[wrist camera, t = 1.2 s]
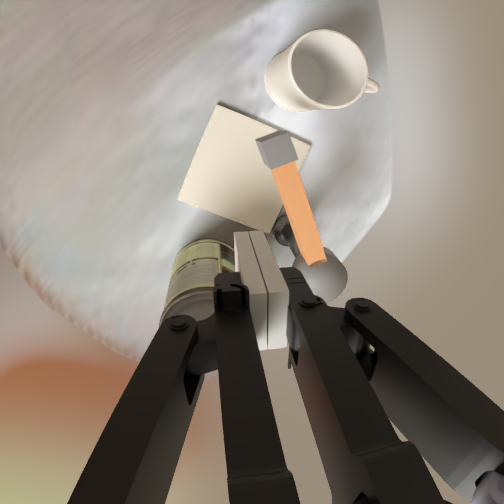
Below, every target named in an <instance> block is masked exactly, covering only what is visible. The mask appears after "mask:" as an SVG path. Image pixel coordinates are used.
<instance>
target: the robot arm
mask: <svg viewBox="0 0 504 504" xmlns="http://www.w3.org/2000/svg"><path fill="white" fill-rule="evenodd" d="M234 250H235V272H227V273H218V274H217V275H216V277H215V278H214V291H213V298H214V309H215V311H214V313H213V314H212V315H211V316H210V317H208V318H206V319H204V320H201V321H197V322H196V320H195V318H193V317H191V316H189V315H174V316H171V317H169V318H167V319H165V320H164V321H163V323H162V324H161V326H160V327H159V329H158V331H157V333H156V334H155V336H154V338H153V340H152V341H151V343H150V345H149V347H148V349H147V350H146V352H145V354H144V356H143V358H142V359H141V361H140V363H139V365H138V367H137V369H136V370H135V372H134V374H133V376H132V378H131V379H130V381H129V383H128V385H127V387H126V389H125V390H124V392H123V394H122V396H121V398H120V400H119V402H118V404H117V406H116V407H115V409H114V411H113V413H112V415H111V417H110V419H109V421H108V423H107V424H106V426H105V428H104V430H103V432H102V434H101V436H100V438H99V440H98V442H97V444H96V446H95V448H94V450H93V452H92V454H91V456H90V458H89V460H88V462H87V464H86V466H85V468H84V470H83V472H82V474H81V476H80V478H79V480H78V482H77V484H76V486H75V488H74V490H73V493H72V495H71V497H70V499H69V501H68V503H67V504H165V501H166V498H167V495H168V492H169V488H170V485H171V482H172V479H173V476H174V472H175V469H176V466H177V463H178V460H179V456H180V453H181V450H182V447H183V444H184V441H185V437H186V434H187V431H188V428H189V425H190V422H191V419H192V415H193V412H194V409H195V406H196V402H197V400H198V396H199V393H200V390H201V387H202V384H203V381H204V376H205V373H208V372H211V371H214V370H217V369H218V372H219V386H220V399H221V411H222V423H223V434H224V444H225V454H226V464H227V474H228V478H227V480H228V481H227V482H228V493H229V501H230V504H300V501H299V497H298V493H297V489H296V485H295V481H294V478H293V475H292V473H291V472H290V471H289V470H288V469H287V466H286V463H285V459H284V454H283V450H282V446H281V442H280V438H279V434H278V429H277V425H276V421H275V416H274V413H273V408H272V404H271V399H270V395H269V391H268V387H267V382H266V378H265V373H264V369H263V365H262V360H261V356H260V352H259V350H267V346H268V349H277V348H286V347H287V346H286V345H287V339H288V342H289V359H288V368H289V369H290V368H291V364H292V366H293V370H294V373H295V376H296V379H297V382H298V386H299V389H300V392H301V395H302V399H303V402H304V405H305V408H306V411H307V415H308V418H309V421H310V424H311V428H312V431H313V434H314V437H315V440H316V444H317V447H318V450H319V454H320V457H321V460H322V463H323V467H324V470H325V473H326V476H327V480H328V483H329V486H330V489H331V493H332V504H452V503H450V502H447V501H446V500H443V498H442V496H441V494H440V492H439V490H438V488H437V486H436V484H435V482H434V480H433V478H432V476H431V474H430V472H429V470H428V468H427V466H426V464H425V462H424V460H423V458H422V456H423V457H424V459H425V460H426V461H427V462H428V463H429V464H430V465H431V466H432V467H433V469H434V470H435V471H436V472H437V473H438V474H439V475H440V476H441V477H442V479H443V480H444V481H445V482H446V483H447V484H448V485H449V486H450V487H451V488H452V489H453V490H454V491H456V492H457V493H458V494H460V495H461V496H462V497H464V498H465V499H467V500H469V501H471V502H472V504H504V411H503V410H502V409H501V408H500V407H499V406H497V405H496V404H495V403H494V402H493V401H492V400H491V399H490V398H488V397H487V396H486V395H485V394H484V393H483V392H482V391H480V390H479V389H478V388H477V387H476V386H474V385H473V384H472V383H471V382H470V381H469V380H467V378H465V377H464V376H463V375H462V374H461V373H459V372H458V371H457V370H456V369H455V368H454V367H452V366H451V365H450V364H449V363H448V362H446V361H445V360H444V359H443V358H442V357H441V356H439V355H438V354H437V353H436V352H435V351H433V350H432V349H431V348H430V347H429V346H427V345H426V344H425V343H424V342H423V341H421V340H420V339H419V338H418V337H417V336H415V335H414V334H413V333H412V332H410V331H409V330H408V329H407V328H406V327H404V326H403V325H402V324H401V323H399V322H398V321H397V320H396V319H394V318H393V317H392V316H390V315H389V314H388V313H387V312H386V311H385V310H383V309H382V308H381V307H380V306H378V305H377V304H376V303H374V302H373V301H371V300H368V299H365V298H353V299H351V300H348V301H347V303H346V305H345V308H337V307H330V306H327V304H326V302H325V301H324V300H323V299H322V298H321V297H319V296H317V295H314V294H313V292H312V290H311V288H310V287H309V285H308V283H307V281H306V279H305V278H304V276H303V274H302V272H301V271H300V270H298V269H297V268H295V267H286V268H279V266H278V264H277V262H276V260H275V257H274V255H273V253H272V250H271V248H270V246H269V244H268V241H267V239H266V237H265V235H264V232H263V230H260V231H249V234H248V231H243V232H234ZM370 344H371V345H372V346H373V347H374V348H375V351H372V350H371V349H370V348H369V347H370ZM389 419H390V420H391V421H392V423H393V424H394V425H395V426H396V427H397V428H398V429H399V430H400V432H401V433H402V434H403V435H404V436H405V437H406V438H407V439H408V441H406V442H402V441H401V440H400V439H399V438H398V436H397V434H396V433H395V430H394V428H393V426H392V424H391V422H390V420H389ZM421 455H422V456H421Z"/></svg>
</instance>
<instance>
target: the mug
mask: <svg viewBox="0 0 504 504" xmlns="http://www.w3.org/2000/svg"><path fill="white" fill-rule="evenodd" d="M368 76H369V71H368V65H367V61H366V58H365V56H364V54H363V52H362V51H361V49H360V48H359V47H358V45H357V44H356V43H355V42H354V41H353V40H351V39H350V38H349V37H347V36H346V35H344V34H342V33H339V32H337V31H333V30H327V29H319V30H314V31H310V32H308V33H306V34H304V35H302V36H301V37H300V38H298V39H297V40H296V41H295V42H294V43H293V44H291V45H290V46H289V47H288V48H287V49H286V50H284V51H283V52H281V53H279V54H277V55H276V56H275V57H274V58H273V59H272V60H271V61H270V62H269V64H268V65H267V68H266V70H265V75H264V82H265V87H266V90H267V92H268V94H269V96H270V97H271V99H272V100H273V101H274V102H275V103H276V104H277V105H279V106H280V107H282V108H283V109H286V110H288V111H292V112H307V111H310V110H317V109H338V108H343V107H346V106H349V105H351V104H352V103H354V102H355V101H357V100H358V99H359V98H360V97H361V95H362V94H363V93H376V92H378V91H379V89H380V86H379V84H378V83H377V82H375V81H373V80H371V79H369V78H368ZM366 86H369V87H366Z"/></svg>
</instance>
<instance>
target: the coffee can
mask: <svg viewBox="0 0 504 504" xmlns="http://www.w3.org/2000/svg"><path fill="white" fill-rule="evenodd" d="M227 272H235V250H234V249H233V248H232V247H231V246H229V245H227V244H226V243H224V242H221V241H218V240H211V239H204V240H199V241H195V242H192V243H190V244H188V245H187V246H186V247H184V248H183V249H182V250H181V251H180V252H179V253H178V255H177V257H176V258H175V261H174V263H173V269H172V275H171V279H170V284H169V288H168V292H167V297H166V302H165V307H164V311H163V313H162V316H161V319H160V324H159V327H160V326H161V324H162V323H163V321H164V320H165V319H167V318H169V317H171V316H174V315H189V316H191V317H193V318H195V320H196V322H197V321H201V320H204V319H206V318H208V317H210V316H211V315H212V314H213V313H214V311H215V309H214V298H213V291H214V278H215V277H216V275H217V274H218V273H227Z"/></svg>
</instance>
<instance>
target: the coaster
mask: <svg viewBox="0 0 504 504" xmlns="http://www.w3.org/2000/svg"><path fill="white" fill-rule="evenodd" d="M276 131H278V130H276V129H274V128H272V127H269V126H267V125H265V124H263V123H260V122H258V121H256V120H253V119H251V118H249V117H246V116H244V115H242V114H239V113H237V112H234V111H232V110H229V109H227V108H224V107H222V106H219V105H216V107H215V109H214V111H213V113H212V116H211V118H210V120H209V123H208V125H207V127H206V129H205V132H204V134H203V136H202V139H201V141H200V144H199V146H198V148H197V151H196V153H195V156H194V158H193V160H192V163H191V165H190V168H189V170H188V173H187V175H186V178H185V181H184V183H183V186H182V188H181V191H180V194H179V196H178V199H177V200H179V201H182V202H185V203H187V204H190V205H193V206H196V207H198V208H201V209H204V210H206V211H209V212H212V213H214V214H217V215H220V216H222V217H225V218H228V219H230V220H233V221H236V222H238V223H241V224H244V225H246V226H249V227H251V228H254V229H257V230H259V231H260V230H263V232H265V233H267V234H269V233H270V231H271V229H272V227H273V225H274V223H275V221H276V219H277V217H278V215H279V212H280V210H281V208H282V206H283V202H282V200H281V197H280V194H279V191H278V189H277V186H276V183H275V181H274V178H273V175H272V173H271V170H270V168H269V167H267V166H266V165H265V164H264V162H263V159H262V157H261V154H260V152H259V149H258V146H257V144H256V141H255V139H257V138H260V137H263V136H265V135H268V134H271V133H273V132H276ZM290 137H291V136H290ZM291 140H292V142H293V145H294V148H295V151H296V154H297V156H298V160H296V161H295V164H296V167H297V169H298V172H299V170H300V168H301V166H302V164H303V162H304V160H305V158H306V156H307V154H308V151H309V149H310V147H311V146H310V145H308V144H306V143H304V142H302V141H299V140H297V139H295V138H293V137H291Z"/></svg>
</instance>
